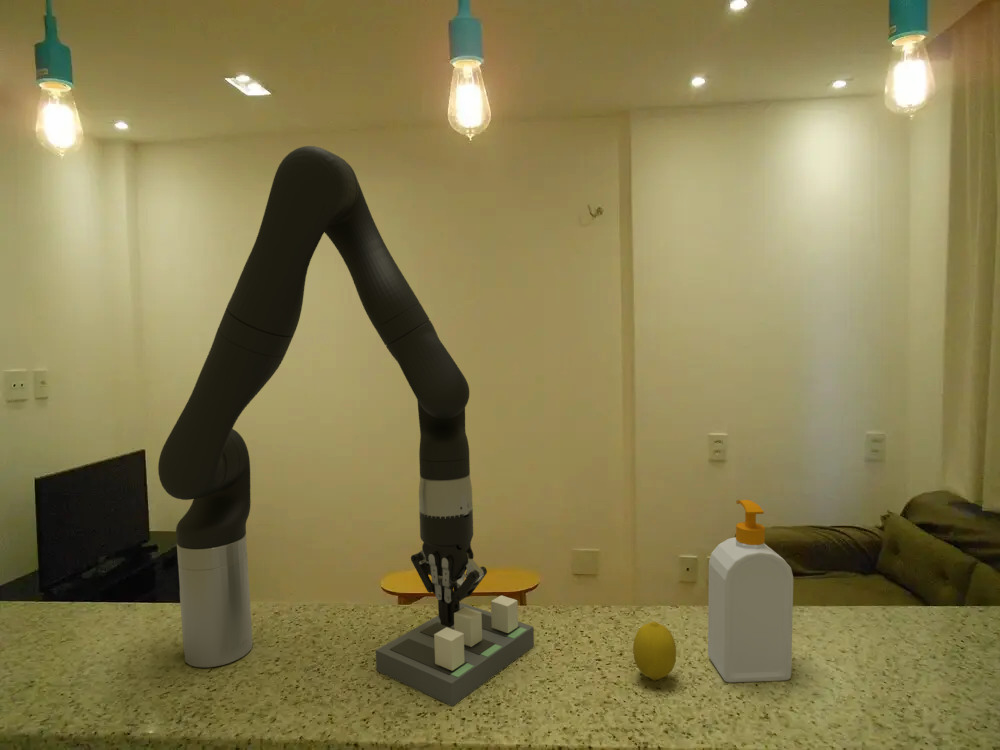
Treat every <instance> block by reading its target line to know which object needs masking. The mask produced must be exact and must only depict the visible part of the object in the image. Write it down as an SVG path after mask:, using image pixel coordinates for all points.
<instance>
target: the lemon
mask: <svg viewBox="0 0 1000 750" xmlns="http://www.w3.org/2000/svg"><path fill="white" fill-rule="evenodd" d="M633 641H634V642H633V645H632V652H633V653H632V654H633V660H634V662H635V665H636V667H637V668H638V670H639V671H640V672H641V673H642V674H643V675H644V676H646V677H648V678H650V679H651V680H652V681H657V680H659V679H663V678H665V677H667V676H668V675H670V674H671V672H672V671H673V669H674V667H675V665H676V660H677V648H676V643H675V642H676V641H675V638H674V636H673V634H672V631H670V630H669V629H668V628H667V627H666V625H665V626H664V625H663V624H661V623H659V622H658V621H656V620H654V621H651V622H648V623H646V624H643V625H642V626H641V627H640V628H639V629H638V630H637V632H636V634H635V637H634V639H633Z"/></svg>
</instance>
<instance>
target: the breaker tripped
mask: <svg viewBox="0 0 1000 750" xmlns="http://www.w3.org/2000/svg"><path fill="white" fill-rule="evenodd" d="M454 630H456V631H458V632H461V633H464V645H467V646H470V647H472V646H474V645H475V644H477V643H478V642H480V641H481V640H482V613H481V612H479V611H476V610H473V609H470V608H467V607H464V608H462V609H461V610H459V611H457V612H455V613H454Z"/></svg>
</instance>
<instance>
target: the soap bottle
mask: <svg viewBox="0 0 1000 750" xmlns="http://www.w3.org/2000/svg"><path fill="white" fill-rule="evenodd" d="M738 504H739V505H741V506H742V507H743V510H744V512H745V514H744V517H745V518H744V519H745V521H742V522H741V521H740V522H738V523H737V524H736V525H735V537H729V538H727V539H726V540H724V541H722V542H721V543H718V545H717V546H716V547H715V548H714V549H713V551H712V552H711V553H710V557H709V561H708V602H707V603H708V604H707V605H708V607H707V608H708V614H707V615H708V617H707V618H708V619H707V621H708V622H707V623H708V624H707V631H708V632H707V655H708V658H709V659H710V661H711V662H712V665H714V667H715V669H716V670H717V672H718V673H719V675H720V676H721V678H722V679H723V681H724V682H726V683H750V682H751V683H752V682H753V683H754V682H778V681H788V680H790V679H791V677H792V662H793V661H792V660H793V659H792V658H793V654H792V653H793V652H792V651H793V615H794V614H793V613H794V612H793V611H794V610H793V609H794V575H793V571H792V567H791V566H790V565H789V564H788V563H787V561H786V560H785V559H784V558H783V557H781V555H780V554H778V553H777V552H776V551H775V550H773V549H772V548H771V547H769V546H768V545H767V544H766V543H765V542H766V541H765V540H766V528H765V526H764V525H763V524H760V523H757V521H756V520H757V515H764V514H765V513H764V512H765V511H764V509H763V508H761V506H760V505H759V504H758V503H756V502H754V501H752V500H749V499H738V500H736V505H738Z"/></svg>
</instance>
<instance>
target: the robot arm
mask: <svg viewBox="0 0 1000 750" xmlns="http://www.w3.org/2000/svg"><path fill="white" fill-rule="evenodd" d="M324 234H325V235H326V236H327V237H328V238H329V240H330V241H331V243H332V245H334V247H335V248H336V250H337V252H338V254H340V257H341V258H342V260H343V262H344V264H345V266H346V268H347V269H348V271H349V274H350V276H351V278H352V281H353V282H352V283H353V284H354V286H355V290H356V293H357V295H358V297H359V299H360V302H361V304H362V307H363V310H364V311H365V313H366V315H367V318H369V321H370V322H371V324H372V326H373V327H374V329H375V330H376V332H377V334H378V336H379V338H380V340H382V342H383V344H384V345H385V346H386V349H387V350H388V352H389V353H390V355H391V356H392V357H393V358H394V360H395V361H396V362H397V364H398V366H399V368H400V370H401V371H402V373H403V375H404V378H405V379H406V381H407V383H408V385H409V387H410V389H411V390H412V393H413V395H414V396H415V398H416V399H417V410H418V414H417V415H418V423H419V432H420V436H419V437H420V439H419V452H418V455H419V457H418V458H419V484H418V485H419V486H418V507H419V508H418V509H419V511H418V512H419V536H420V540H421V541H422V547H421V548H422V549H421V550H420V551H419V552H417V553H415V554H411V557H410V561H411V563H412V565H413V566H414V569H415V570H416V572H417V574H418V576H419V577H420V580H421V581H422V584H423V586H424V588H425V589H426V591H427V592H428V593H429V594H434V595H435V598H436V599H437V605H438V606H437V607H438V608H437V609H438V615H439V619H440V621H441V624H442V625H444V626H447V627H451V626H453V625H454V613H455V612H457V611H459V610H460V603H461V601H462V600H464V599H466V598H468V597H471V595H472V594H473V592H474V591H475V589H477V588H478V586H479V585H480V583H481V582H482V581H483V579H484V577H486V575H487V573H488V570H487V568H486V567H485V566H480V567H479V565H478V564H477V563H476V561H475V560H474V552H473V551H474V550H473V549H472V546H471V544H472V543H471V542H472V540H473V537H474V514H473V512H474V509H473V507H474V506H473V488H472V487H473V486H472V481H471V467H470V465H471V463H470V447H469V440H468V436H467V434H466V406H467V405H468V403H469V399H470V387H469V386H470V385H469V384H468V381H467V379H466V376H465V375H464V374H463V372H462V371H461V369H460V368H459V365H458V364H457V363H456V362H455V360H454V358H452V355H451V354H450V353H449V351H448V350H447V349H446V347H445V345H444V344H443V342H442V341H441V340H440V338H439V336H438V333H437V331H436V328H435V327H434V324H433V323H432V321H431V320H430V318H429V315H428V314H427V312H426V310H425V309H424V307H423V305H422V303H421V302H420V300H419V298H418V297H417V295H416V294H415V292H414V290H413V289H412V287H411V286H410V284H409V283H408V281H407V279H406V277H405V276H404V275H403V272H402V271H401V269H400V268H399V266H398V265H397V263H396V260H394V259H395V258H394V257H393V256H392V254H391V252H390V251H389V249H388V247H387V246H386V243H385V241H384V239H383V237H382V236H381V233H380V230H379V229H378V227H377V225H376V223H375V221H374V218H373V216H372V214H371V211H370V208H369V206H368V203H367V200H366V199H365V195H364V193H363V190H362V187H361V186H360V183H359V179H358V178H357V175H356V173H355V171H354V169H353V167H352V166H351V165H350V164H349V163H348V161H346V160H345V159H343V158H342V157H340V156H339V155H336V154H335V153H333V152H331V151H329V150H327V149H324V148H322V147H319V146H315V145H306V146H305V145H304V146H301V147H297V148H295V149H293V150H292V151H290V152H289V153H288V154H287V155H285V157H283V158H282V160H281V162H280V163H279V165H278V167H277V169H276V171H275V175H274V177H273V181H272V184H271V188H270V191H269V195H268V198H267V202H266V206H265V209H264V212H263V217H262V220H261V223H260V226H259V230H258V233H257V236H256V239H255V241H254V244H253V247H251V248H252V249H251V250H250V253H249V255H248V257H247V259H246V262H245V264H244V266H243V269H242V271H241V273H240V276H239V279H238V281H237V282H236V285H235V288H234V290H233V293H232V295H231V296H230V299H229V300H228V303H227V305H226V308H225V311H224V313H223V316H222V318H221V320H220V323H219V325H218V327H217V330H216V333H215V336H214V339H213V341H212V343H211V348H210V349H209V352H208V354H207V356H206V358H205V360H204V363H203V366H202V368H201V370H200V373H199V375H198V377H197V380H196V382H195V385H194V387H193V388H192V389H193V390H192V392H191V394H190V396H189V398H188V400H187V403H185V406H184V408H183V409H182V411H181V413H180V415H179V417H178V418H177V421H176V422H175V424H174V425H173V427H172V430H171V432H170V433H169V435H168V436H167V439H166V440H165V442H164V444H163V446H162V449H161V451H160V455H159V458H158V464H157V465H158V467H157V469H158V476H159V481H160V483H161V486H162V488H163V489H164V491H165V492H166V493H167V494H168V495H169V496H170V497H173V498H174V499H177V500H182V501H189V500H192V503H191V505H190V506H189V508H188V510H187V511H186V513H185V514H183V516H182V517H181V519H179V521H178V523H177V524H176V527H175V528H176V529H175V539H176V552H177V565H178V581H179V601H180V617H181V619H180V620H181V632H182V644H183V652H184V653H183V654H184V661H185V663H186V664H188V665H189V666H192V667H194V668H195V667H196V668H213V667H220V666H224V665H228V664H231V663H233V662H235V661H237V660H239V659H241V658H243V657H244V656H247V654H248V653H249V652H250V651H251V650H252V648H253V629H252V628H253V627H252V611H251V593H250V579H249V578H250V577H249V563H248V562H249V561H248V546H247V545H248V544H247V527H246V526H247V521H248V517H249V515H250V511H251V501H252V500H251V461H250V460H251V459H250V454H249V449H248V446H247V443H246V441H245V440H244V438H243V437H242V435H241V434H240V433H239V432H238V431H237V430H235V429H234V426H235V424H236V422H237V420H238V419H239V417H240V416H241V414H242V413H243V412H244V410H245V408H246V407H247V406H248V405H249V404H250V403H251V402H252V400H253V399H255V397H256V396H257V395H258V393H260V391H262V389H263V388H264V387H265V385H266V384H268V382H269V381H270V380H271V378H272V377H273V376H274V374H275V373H276V372H277V371H278V369H279V368H280V367H281V366H280V365H281V364H282V362H283V360H284V359H285V356H286V354H287V352H288V350H289V347H290V344H291V342H292V341H293V338H294V335H295V334H296V330H297V327H298V324H299V322H300V318H301V314H302V310H303V309H302V308H303V304H304V296H305V287H306V279H307V274H308V269H309V266H310V264H311V261H312V258H313V256H314V254H315V252H316V249H317V247H318V246H319V243H320V241H321V240H322V237H323V235H324ZM430 576H431V578H430Z"/></svg>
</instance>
